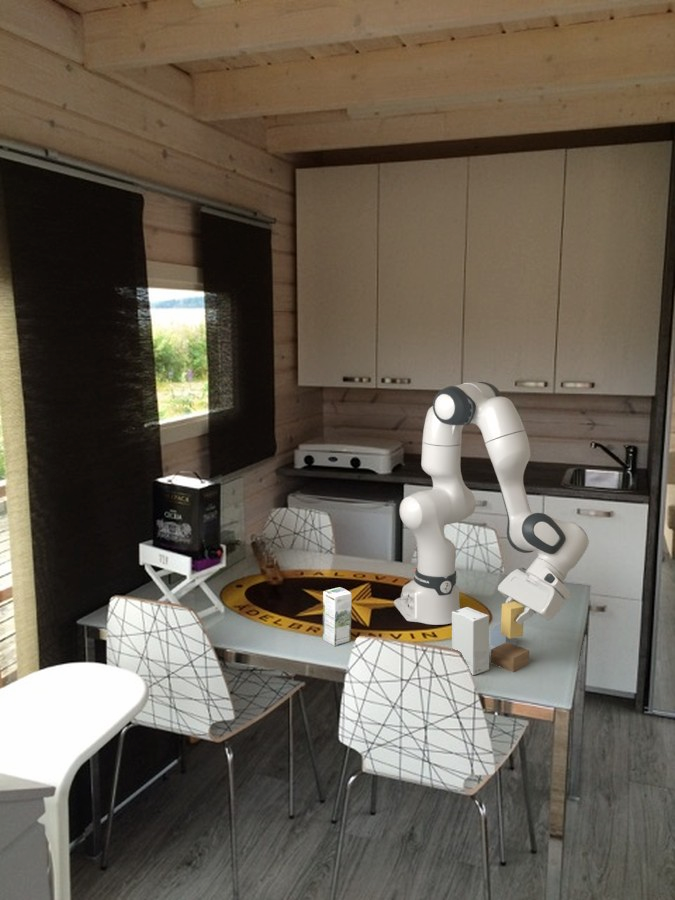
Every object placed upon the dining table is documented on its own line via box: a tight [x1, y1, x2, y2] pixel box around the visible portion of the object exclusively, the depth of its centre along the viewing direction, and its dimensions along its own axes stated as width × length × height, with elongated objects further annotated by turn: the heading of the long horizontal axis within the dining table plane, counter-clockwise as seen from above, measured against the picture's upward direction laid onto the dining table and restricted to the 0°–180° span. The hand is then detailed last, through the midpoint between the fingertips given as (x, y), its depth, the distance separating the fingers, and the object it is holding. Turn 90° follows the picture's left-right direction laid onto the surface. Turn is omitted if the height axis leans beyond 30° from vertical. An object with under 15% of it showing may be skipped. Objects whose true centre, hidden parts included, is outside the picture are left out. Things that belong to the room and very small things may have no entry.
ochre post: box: [500, 602, 525, 639], centre depth 207 cm, size 4×4×8 cm
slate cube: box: [489, 623, 518, 648], centre depth 220 cm, size 5×5×5 cm
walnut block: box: [489, 642, 530, 673], centre depth 209 cm, size 7×7×4 cm
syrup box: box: [321, 586, 353, 647], centre depth 221 cm, size 6×6×14 cm
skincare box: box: [451, 606, 490, 676], centre depth 206 cm, size 8×6×15 cm
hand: (510, 618), depth 207 cm, fingers closed on ochre post, 4 cm apart
